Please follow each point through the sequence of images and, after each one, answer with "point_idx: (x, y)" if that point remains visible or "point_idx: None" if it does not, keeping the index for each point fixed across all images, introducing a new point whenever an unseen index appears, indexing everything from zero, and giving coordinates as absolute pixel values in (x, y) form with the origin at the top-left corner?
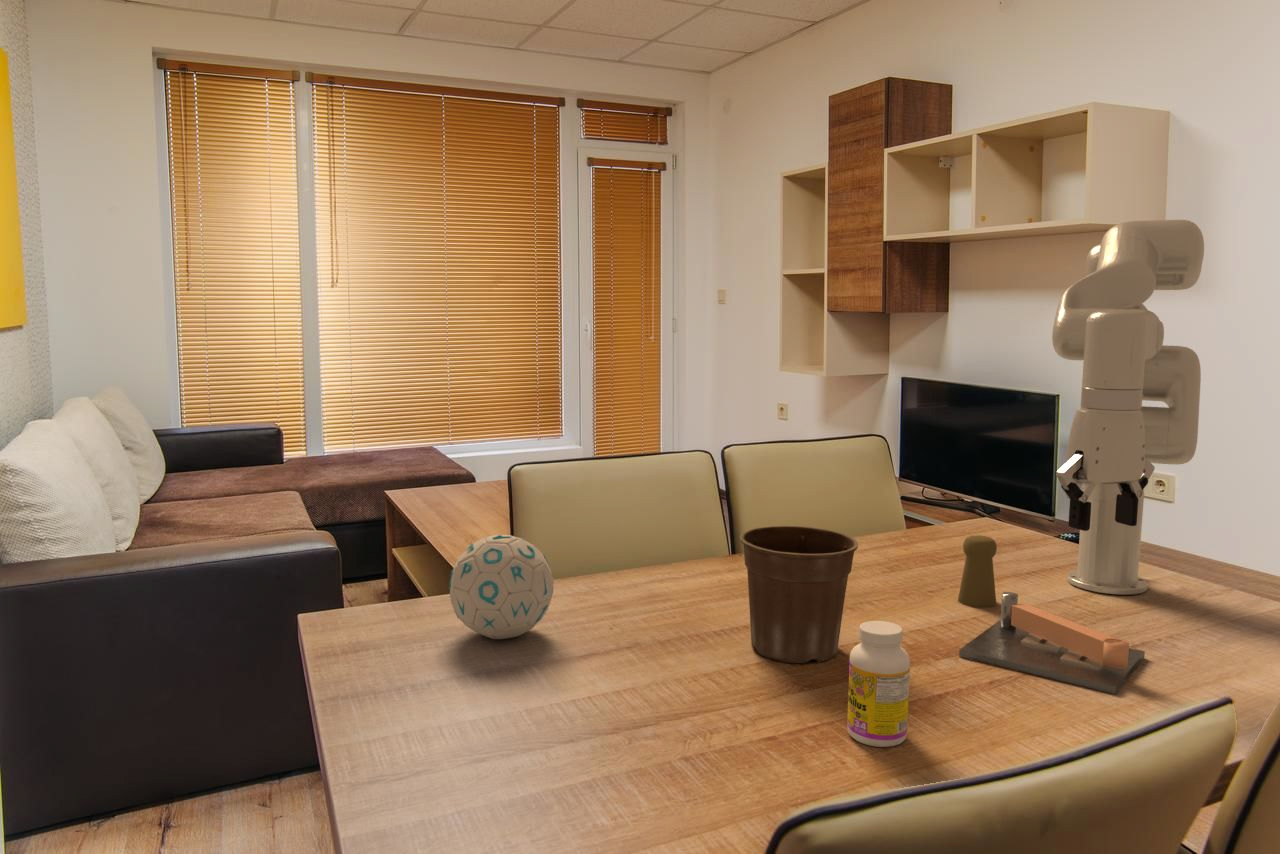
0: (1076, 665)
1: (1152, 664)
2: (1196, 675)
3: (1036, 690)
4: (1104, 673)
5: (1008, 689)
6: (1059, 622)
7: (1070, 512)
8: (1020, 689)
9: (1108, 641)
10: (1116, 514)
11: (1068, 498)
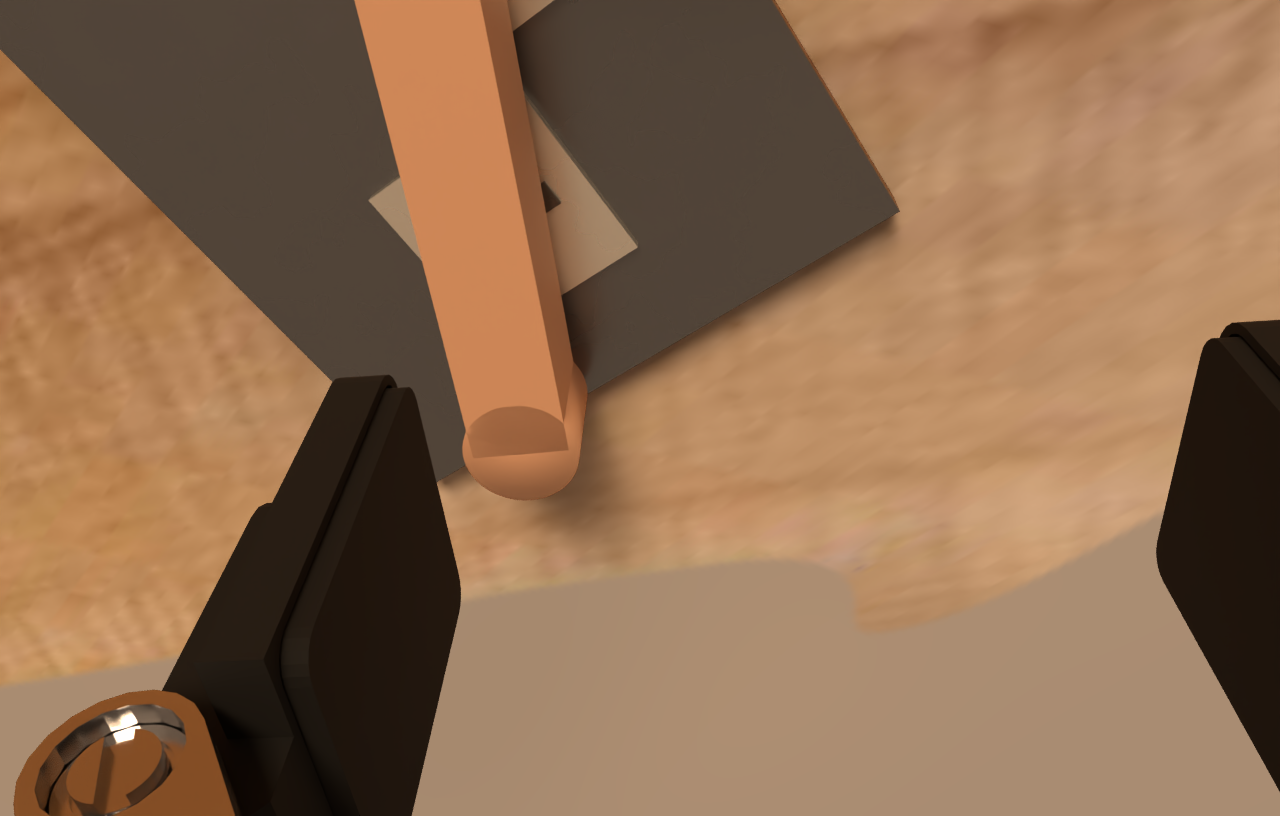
0: (413, 272)
1: (861, 266)
2: (931, 407)
3: (138, 358)
4: None
5: (18, 322)
6: (411, 129)
7: (227, 584)
8: (72, 334)
9: (491, 435)
10: (1252, 404)
11: (111, 716)
